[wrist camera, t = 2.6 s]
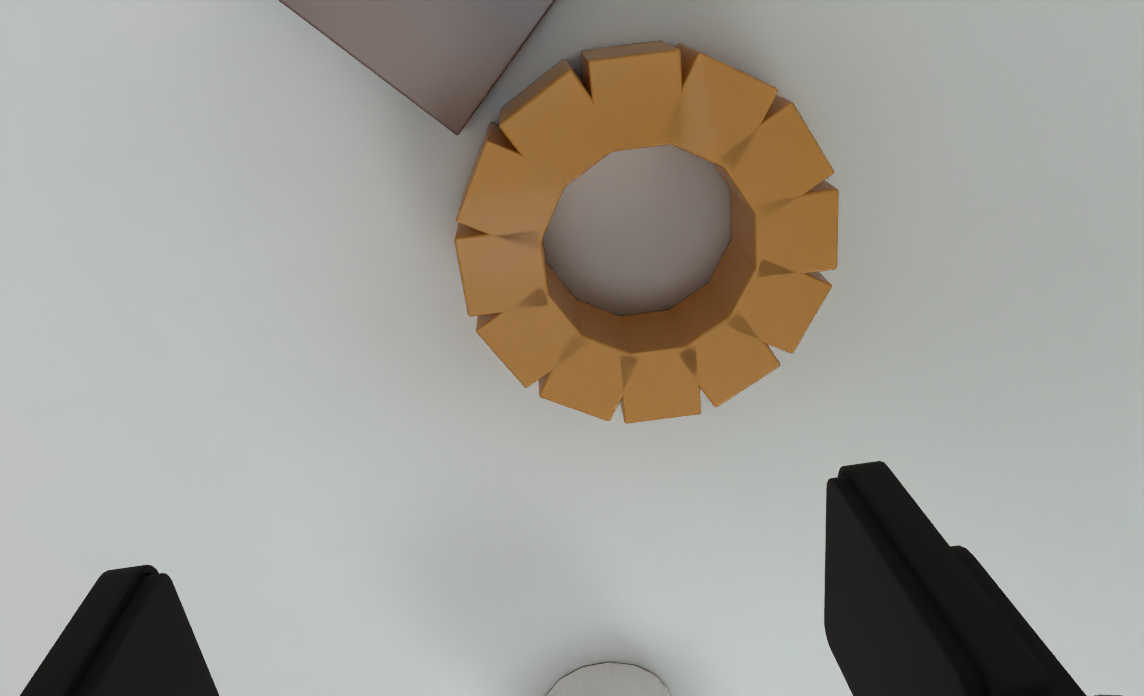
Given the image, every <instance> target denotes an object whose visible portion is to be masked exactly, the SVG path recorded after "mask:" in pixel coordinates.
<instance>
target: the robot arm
mask: <svg viewBox="0 0 1144 696" xmlns="http://www.w3.org/2000/svg"><path fill="white" fill-rule="evenodd" d="M824 625H825V632H826V636H827V640H828V643H829V646H830V648H831V651H832V653H833V655H834V657H835V659H836V661H837V663H838V665H839V667H840V669H841V671H842V673H843V675H844V678H845V680H846V682H847V684H848V686H849V688H850V690H851V692H852V694H853V696H1086V695H1085V693H1084V692H1083V691H1082V690H1081V688H1080V687H1079V686H1078V685H1077V683H1076V682H1075V681H1074V680H1073V679H1072V677H1071V676H1070V675H1069V674H1068V672H1067V671H1066V670H1065V669H1064V667H1063V666H1062V665H1061V664H1060V662H1059V661H1058V660H1057V659H1056V657H1055V656H1054V655H1053V654H1052V652H1051V651H1050V650H1049V649H1048V647H1047V646H1046V645H1045V644H1044V642H1043V641H1042V640H1041V639H1040V638H1039V636H1038V635H1037V634H1036V633H1035V631H1034V630H1033V629H1032V628H1031V626H1030V625H1029V624H1028V623H1027V621H1026V620H1025V619H1024V618H1023V616H1022V615H1021V614H1020V613H1019V611H1018V610H1017V609H1016V608H1015V606H1014V605H1013V604H1012V603H1011V601H1010V600H1009V599H1008V598H1007V597H1006V595H1005V594H1004V593H1003V592H1002V590H1001V589H1000V588H999V587H998V585H997V584H996V583H995V582H994V580H993V579H992V578H991V577H990V575H989V574H988V573H987V572H986V570H985V569H984V568H983V567H982V565H981V564H980V563H979V562H978V560H977V559H976V558H975V557H974V556H973V555H972V554H971V553H970V552H969V551H968V550H967V549H966V548H964V547H961V546H952V547H950V546H949V545H948V543H947V542H946V541H945V540H944V538H943V537H942V536H941V534H940V533H939V532H938V531H937V529H936V528H935V527H934V525H933V524H932V523H931V522H930V520H929V519H928V518H927V516H926V515H925V514H924V513H923V511H922V510H921V509H920V507H919V506H918V505H917V503H916V502H915V501H914V500H913V498H912V497H911V496H910V494H909V493H908V492H907V491H906V489H905V488H904V487H903V485H902V484H901V483H900V482H899V480H898V479H897V478H896V476H895V475H894V474H893V473H892V471H891V470H890V469H889V467H888V466H887V465H886V464H885V463H884V462H881V461H877V462H870V463H862V464H855V465H848V466H843V467H841V468H840V470H839V473H838V477H837V478H830V479H829V480H828V482H827V495H826V551H825V607H824ZM20 696H219V694H218V692H217V689H216V687H215V684H214V682H213V679H212V677H211V675H210V672H209V670H208V667H207V665H206V662H205V660H204V658H203V655H202V653H201V650H200V648H199V645H198V643H197V641H196V638H195V636H194V633H193V631H192V628H191V626H190V624H189V621H188V619H187V616H186V614H185V611H184V609H183V607H182V604H181V602H180V599H179V597H178V594H177V592H176V590H175V587H174V585H173V582H172V580H171V579H170V577H169V576H168V575H167V574H164V573H160V574H159V573H158V571H157V570H156V569H155V568H154V567H153V566H151V565H142V566H135V567H128V568H121V569H114V570H108V571H106V572H104V573H103V574H102V575H101V576H100V577H99V578H98V580H97V581H96V583H95V584H94V586H93V587H92V589H91V590H90V592H89V593H88V595H87V596H86V598H85V599H84V601H83V602H82V604H81V605H80V607H79V608H78V610H77V611H76V613H75V614H74V616H73V617H72V619H71V620H70V622H69V623H68V625H67V626H66V628H65V629H64V631H63V632H62V634H61V635H60V637H59V638H58V640H57V641H56V643H55V644H54V646H53V647H52V648H51V650H50V651H49V653H48V654H47V656H46V657H45V659H44V660H43V662H42V663H41V665H40V666H39V668H38V669H37V671H36V672H35V674H34V675H33V677H32V678H31V680H30V681H29V683H28V684H27V686H26V687H25V689H24V690H23V692H22V693H21V695H20ZM1095 696H1121V695H1095Z"/></svg>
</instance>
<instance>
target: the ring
mask: <svg viewBox="0 0 1144 696" xmlns="http://www.w3.org/2000/svg"><path fill="white" fill-rule="evenodd" d="M581 61H582V71H583V80H584V83H583V82H582V81H581V79H580V78H579V76H578V75H577V74H576V72H575V71H574V69H573V68H572V66H571V65H570V64H569V62H568V61H567V60H566V59H562V60H561V61H560V62H559V63H557V64H556V65H555V66H554V67H552V68H551V69H550V70H549V71H547V72H546V73H545V74H544V75H542V76H541V77H540V78H538V79H537V80H536V81H535V82H533V83H532V84H531V85H530V86H528V87H527V88H526V89H525V90H523V91H522V92H521V93H520V94H518V95H517V96H516V97H515V98H513V99H512V100H511V101H509V102H508V103H507V104H506V105H504V106H503V107H502V109H501V115H500V121H499V125H497V124H494V123H490V124H489V127H488V130H487V132H486V135H485V137H484V140H483V143H482V145H481V148H480V151H479V153H478V156H477V158H476V161H475V164H474V166H473V169H472V171H471V174H470V177H469V179H468V182H467V185H466V187H465V190H464V192H463V195H462V199H461V203H460V207H459V210H458V214H457V218H456V221H457V222H458V223H459V224H458V228H457V232H456V236H455V240H454V241H455V246H456V252H457V257H458V263H459V268H460V274H461V279H462V285H463V290H464V296H465V301H466V306H467V312H468V315H469V316H470V317H471V316H478V319H477V327H476V332H477V334H478V335H479V336H480V337H481V338H482V339H483V340H484V342H485V343H486V344H487V345H488V346H489V347H490V348H491V350H492V351H493V352H494V353H495V354H496V355H497V356H498V357H499V359H500V360H501V361H502V362H503V363H504V364H505V365H506V367H507V368H508V369H509V370H510V371H511V372H512V373H513V374H514V376H515V377H516V378H517V379H518V380H519V381H520V382H521V384H522V385H523V386H524V387H525V388H527V387H528V386H530V385H531V384H533V383H534V382H536V381H537V380H538V379H539V396H540V397H541V398H544V399H547V400H550V401H553V402H556V403H558V404H561V405H564V406H567V407H570V408H572V409H575V410H578V411H581V412H584V413H587V414H589V415H592V416H595V417H598V418H601V419H603V420H606V421H610V420H611V418H612V416H613V414H614V412H615V410H616V408H617V406H618V404H619V402H620V404H621V409H622V413H623V417H624V422H625V423H634V422H642V421H650V420H657V419H665V418H673V417H681V416H688V415H696V414H700V413H701V404H700V389H701V390H702V391H703V392H704V394H705V395H706V396H707V398H708V399H709V400H710V402H711V403H712V404H713V405H714V406H715V407H718V406H720V405H721V404H723V403H724V402H726V401H727V400H729V399H730V398H732V397H733V396H735V395H736V394H738V393H740V392H741V391H743V390H744V389H746V388H747V387H749V386H750V385H752V384H753V383H755V382H756V381H758V380H759V379H761V378H763V377H764V376H766V375H767V374H769V373H770V372H772V371H773V370H775V369H776V368H778V367H779V366H780V363H779V361H778V359H777V358H776V356H775V355H774V353H773V352H772V350H771V349H770V347H769V346H768V344H769V345H771V346H774V347H776V348H779V349H781V350H784V351H786V352H789V353H793V352H794V350H795V349H796V347H797V345H798V344H799V342H800V340H801V338H802V337H803V335H804V333H805V332H806V330H807V328H808V326H809V325H810V323H811V321H812V320H813V318H814V316H815V315H816V313H817V311H818V309H819V308H820V306H821V304H822V303H823V301H824V299H825V297H826V296H827V294H828V292H829V291H830V289H831V287H832V285H831V284H830V283H829V282H828V281H827V280H826V279H825V278H824V277H823V276H822V275H821V274H820V273H819V271H827V270H835V269H836V268H837V243H838V196H839V191H838V189H837V188H835V187H834V186H832V185H831V184H829V183H828V182H826V181H825V179H826V178H828V177H829V176H831V175H832V174H833V173H834V170H833V169H832V167H831V165H830V164H829V162H828V160H827V159H826V157H825V155H824V154H823V152H822V150H821V149H820V147H819V145H818V144H817V142H816V140H815V139H814V137H813V135H812V134H811V132H810V130H809V129H808V127H807V125H806V124H805V122H804V120H803V119H802V117H801V115H800V114H799V112H798V110H797V109H796V107H795V105H794V104H793V102H791V101H789V100H787V99H785V98H782V97H780V96H778V95H776V94H777V92H778V89H777V88H775V87H773V86H771V85H769V84H767V83H765V82H763V81H761V80H758V79H756V78H754V77H752V76H750V75H748V74H746V73H744V72H742V71H739V70H737V69H735V68H733V67H731V66H729V65H727V64H725V63H722V62H720V61H718V60H716V59H714V58H712V57H710V56H708V55H705V54H703V53H701V52H699V51H697V50H694V49H692V48H690V47H687V46H685V45H683V44H678V46H677V48H675V47H673V46H671V45H669V44H667V43H665V42H663V41H654V42H646V43H638V44H630V45H622V46H614V47H607V48H599V49H591V50H583V51H581ZM669 144H671V145H674V146H676V147H678V148H681V149H683V150H685V151H687V152H690V153H692V154H694V155H696V156H699V157H701V158H703V159H705V160H708V161H710V162H712V163H713V164H714V165H715V167H716V168H717V170H718V171H719V173H720V174H721V176H722V177H723V179H724V180H725V182H726V183H727V185H728V186H729V188H730V193H731V222H732V239H731V241H730V243H729V245H728V247H727V248H726V250H725V252H724V254H723V256H722V258H721V260H720V262H719V264H718V266H717V268H716V270H715V271H714V273H713V275H712V277H711V279H710V281H709V283H707V284H706V285H704V286H703V287H701V288H700V289H698V290H697V291H696V292H694V293H693V294H691V295H690V296H688V297H687V298H685V299H684V300H683V301H681V302H680V303H678V304H677V305H675V306H674V307H672V308H671V309H670V310H664V311H657V312H649V313H641V314H633V315H625V316H618V315H615V314H613V313H610V312H607V311H605V310H602V309H600V308H597V307H594V306H592V305H589V304H587V303H584V302H581V301H579V300H576V299H575V297H574V296H573V295H572V294H571V292H570V291H569V290H568V289H567V287H566V286H565V285H564V284H563V282H562V281H561V280H560V279H559V278H558V276H557V275H556V274H555V273H554V271H553V270H552V269H551V268H550V266H549V265H548V264H547V263H546V258H545V251H544V244H543V236H544V234H545V231H546V229H547V227H548V224H549V222H550V220H551V217H552V215H553V213H554V210H555V208H556V206H557V203H558V201H559V199H560V196H561V194H562V192H563V189H564V187H565V186H567V185H568V184H569V183H571V182H572V181H573V180H575V179H576V178H577V177H579V176H580V175H581V174H583V173H584V172H585V171H587V170H588V169H589V168H591V167H592V166H593V165H595V164H596V163H597V162H599V161H600V160H601V159H603V158H604V157H605V156H607V155H608V154H609V153H611V152H614V151H622V150H630V149H638V148H645V147H653V146H661V145H669Z"/></svg>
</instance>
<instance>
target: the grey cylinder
mask: <svg viewBox="0 0 1144 696" xmlns="http://www.w3.org/2000/svg"><path fill="white" fill-rule="evenodd" d="M546 696H671V695H670V692H669V690H668V689H667V688H666V687H665V686H664V684H663V683H662V682H661V681H660V680H659V679H658V677H657V676H656V675H654V674H652V673H650V672H648V671H645V670H643V669H641V668H639V667H637V666H635V665H627V664H619V663H610V662H608V663H603V664H597V665H592V666H587V667H582V668H580V669H578V670H576V671H574V672H573V673H571V674H569V675H567V676H565V677H563V678H561V679H560V680H559V681H558V682H557V683H556V684H555V686H554V687H553V688H552V689H551V690H550V691H549V693H548V694H547V695H546Z"/></svg>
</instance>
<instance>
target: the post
mask: <svg viewBox="0 0 1144 696" xmlns="http://www.w3.org/2000/svg"><path fill="white" fill-rule="evenodd" d="M279 1H280V2H281V3H283V4H284V5H285V6H287V7H288V8H289V9H291V10H292V11H293V12H295V13H296V14H297V15H299V16H300V17H301V18H303V19H304V20H305V21H307V22H308V23H309V24H310V25H312V26H313V27H314V28H316V29H317V30H318V31H320V32H321V33H322V34H324V35H325V36H326V37H328V38H329V39H330V40H332V41H333V42H334V43H336V44H337V45H338V46H340V47H341V48H342V49H343V50H345V51H346V52H347V53H349V54H350V55H351V56H353V57H354V58H355V59H357V60H358V61H359V62H361V63H362V64H363V65H365V66H366V67H367V68H369V69H370V70H371V71H373V72H374V73H375V74H376V75H378V76H379V77H380V78H382V79H383V80H384V81H386V82H387V83H388V84H390V85H391V86H392V87H394V88H395V89H396V90H398V91H399V92H400V93H402V94H403V95H404V96H406V97H407V98H408V99H410V100H411V101H412V102H413V103H415V104H416V105H417V106H419V107H420V108H421V109H423V110H424V111H425V112H427V113H428V114H429V115H431V116H432V117H433V118H435V119H436V120H437V121H439V122H440V123H441V124H443V125H444V126H445V127H446V128H448V129H449V130H450V131H452V132H453V133H454V134H456V135H458V134H459V133H460V132H461V130H462V129H463V128H464V126H465V125H466V124H467V122H468V121H469V119H470V118H471V117H472V115H473V114H474V112H475V111H476V110H477V108H478V107H479V106H480V104H481V103H482V101H483V100H484V99H485V97H486V96H487V94H488V93H489V92H490V90H491V89H492V88H493V86H494V85H495V83H496V82H497V81H498V79H499V78H500V76H501V75H502V74H503V72H504V71H505V69H506V68H507V67H508V65H509V64H510V63H511V61H512V60H513V58H514V57H515V56H516V54H517V53H518V51H519V50H520V49H521V47H522V46H523V45H524V43H525V42H526V40H527V39H528V38H529V36H530V35H531V33H532V32H533V31H534V29H535V28H536V26H537V25H538V24H539V22H540V21H541V20H542V18H543V17H544V15H545V14H546V13H547V11H548V10H549V8H550V7H551V6H552V4H553V3H554V2H555V0H279Z"/></svg>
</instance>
